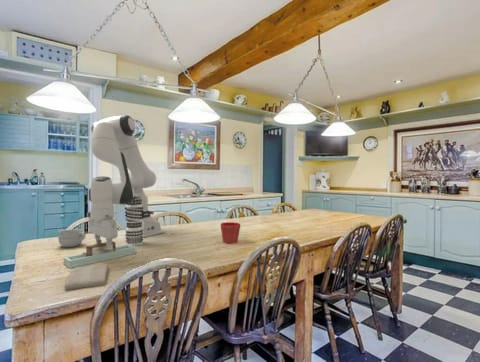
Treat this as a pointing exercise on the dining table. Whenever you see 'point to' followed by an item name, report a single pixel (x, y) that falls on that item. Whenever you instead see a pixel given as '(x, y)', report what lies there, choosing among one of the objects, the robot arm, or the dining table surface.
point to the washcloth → (87, 276)
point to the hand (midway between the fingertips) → (103, 245)
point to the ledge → (98, 256)
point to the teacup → (71, 237)
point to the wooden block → (99, 249)
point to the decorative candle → (134, 221)
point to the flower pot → (230, 232)
